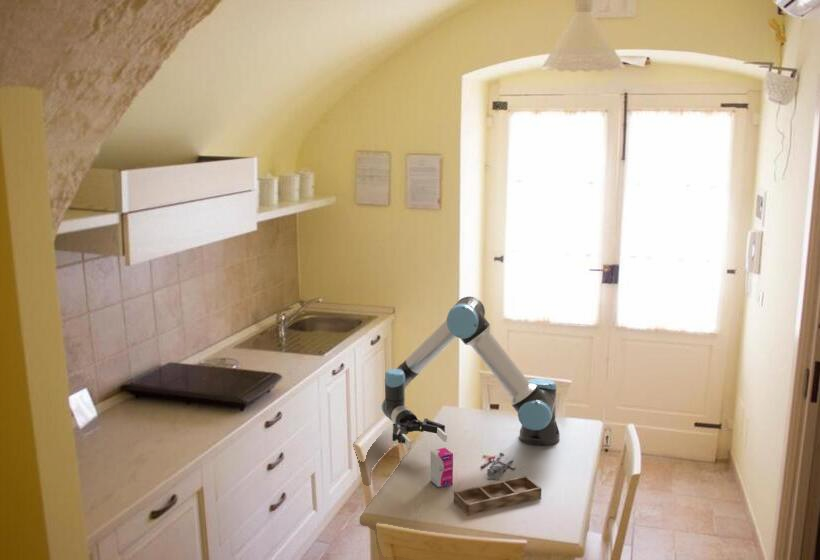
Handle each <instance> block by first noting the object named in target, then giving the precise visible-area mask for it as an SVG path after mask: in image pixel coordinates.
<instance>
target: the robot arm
mask: <svg viewBox="0 0 820 560" xmlns="http://www.w3.org/2000/svg"><path fill="white" fill-rule="evenodd" d="M485 310H486V309H485V306H484V304H483V302H482V301H481V300H479V299H478V298H477V297H474V296H464V297H462V298H460V299H459V300H457V302H456V303H455V304H454V305H453V306H452V307H451V308H450V309H449V311H448V313H447V317H446V320H445V321H444V322H443V323H441V325H439V327H437V329H436V330H435V331H434V332H432V333H431V334H430V336H428V337H427V338H426V340H424V341H423V342H422V343H421V344H420V345H419V346H418V347H417V348H416V349H415V350H414V351H413V352H412V353H411V354H410V355H409V356H408V357H407V358H406V359H405V360H404V361H403V362H402V363H401V364H399V365H398V366H397V367H396V368H392V369H387V371H386V372H385V373H384V375H385V376H384V400H382V403H381V411H382V412H383V414H384V416H386V417H387V418H388V419H389V420H390V421H392V441H393V442H396V441H397V443H399V444H404V445H405V446H406V447H407V448H408V449H412V440H411V439H410V438H409V437H408V436H407V435H408V434H409V433H412V432H421V433H423V432H426V433H433V434H436V436H437V437H438V438H440V439H441V440H442V441H443V442H444V443H446V442H447V440H448V437H447V436H448V435H447V433H446V425H445V424H441V423H439V422H436V421H433V420H431V419H428V418H424V420H423V421H421V420H419V419H418V417H417V416H416V414H414V412H412V411H411V410H410V409H409V408H407V406H406V405H405V401H406V400H405V399H406V398H405V397H406V396H405V395H406V393H405V392H406V391H405V390H406V389H407V387H408V386H409V385H410V383H411V382H412V381H413V380H414V379H415V378H416V377H417V376H418V375H419V374H420V373H421V372H422V371H423V370H424V369H426V367H428V366H429V365H430V363H432V362H433V361H434V360H435V359H436V358H437V357H439V355H440V354H441V353H442V352H443V351H444V350H445V349H446V348H448V346H449V345H451V344H452V343H453V342H454V341H455V340H456V339H460V340H461V341H462V342H463V344H464V345H466V346H471V348H472V349H473V350H474V351H475V352H476V354H477V355H478V356H479V358H480V359H481V360H482V362H484V364H485V366H487V368H488V370H490V372H491V373H492V375H493V376H494V377H495V379H496V380H497V381H498V382H499V384H500V385H501V386H502V388H503V389H504V390H505V391H506V393H507V394H508V395H509V397H510V404H511V406H512V408H513V409H514V410H515V411H516V412H517V418H518V420H519V423H520V425H521V427H520V430H519V439H520V440H521V441H523V442H524V443H526V444H529V445H531V446H541V447H542V446H550V445H555V444H557V443H558V442H559V441H560V435H561V434H560V430H559V427H558V424H557V420H556V410H557V409H556V407H557V406H556V403H557V400H556V399H557V384H556V382H555V381H553V380H550V379H547V378H530V379H527V377H526V376H525V375H524V373H523V372H522V371H521V370H520V368H519V367H518V366H517V365H516V362H514V361H513V359H512V358H511V357H510V355H508V353H507V351H506V350H505V349H504V347H503V346H502V345H501V344H500V342H499V341H498V340H497V339H496V337H495V336H494V335H493V334H492V332H491V324H490V322H489V321H488V320H487V319H486V316H485V315H486V311H485Z"/></svg>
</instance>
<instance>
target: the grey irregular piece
mask: <svg viewBox="0 0 820 560" xmlns="http://www.w3.org/2000/svg"><path fill="white" fill-rule="evenodd" d="M504 456H505V454H504V452H500V453H499V456H498V457H497V458H496V461H494V462H492V463H491V465H490V466H489V467H488V468H487V470H486V475H487V480H490V479H491V480H495V481H501V480H500V478H501V476H502V475H503V472H504V473H505V472H506V469H507V467H509V466H511V465H512V462H513V460H510V461H509V462H507V463H506V464H505V465H498V462H500V461H501V460H502V458H504ZM511 459H512V457H511Z"/></svg>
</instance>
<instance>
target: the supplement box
mask: <svg viewBox="0 0 820 560" xmlns="http://www.w3.org/2000/svg"><path fill="white" fill-rule="evenodd" d="M429 467H430V469H429V470H430V473H429V474H430V475H429V476H430V481H429V482H430V483H432V485H434V486H435V487H436V488H437V489H441V488H443V487H448V486H452V485H454V474H453V473H454V471H453V470H454V453H453V452H451V450H449V449H447V448H446V447H442V448H437V449H432V450H430V466H429Z"/></svg>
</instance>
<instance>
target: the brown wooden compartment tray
mask: <svg viewBox="0 0 820 560" xmlns="http://www.w3.org/2000/svg"><path fill="white" fill-rule="evenodd" d="M538 499H539V500H540V499H542V487H541V486H539V485H538V484H537V483H536V482H535V481H533V480H532V479H531V478H529V477H528V476H527V475H524V476H519V477H514V478H509V479H505V480H499V481H496V482H492V483H486V484H483V485H482V484H481V485H479V486H474V487H469V488H465V489H461V490H456V491H453V502H454V504H455V505H456V506H457V507H458V508H459V509H460V510H461V511H462V512H464V514H465V515H466V516H472V515H475V514H480V513H484V512H489V511H492V510H496V509H501V508H505V507H510V506H513V505H514V506H515V505H519V504H521V503H526V502H530V501H535V500H538Z"/></svg>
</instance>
